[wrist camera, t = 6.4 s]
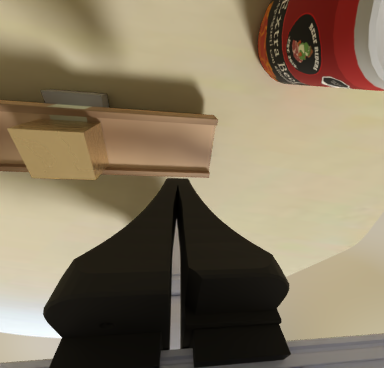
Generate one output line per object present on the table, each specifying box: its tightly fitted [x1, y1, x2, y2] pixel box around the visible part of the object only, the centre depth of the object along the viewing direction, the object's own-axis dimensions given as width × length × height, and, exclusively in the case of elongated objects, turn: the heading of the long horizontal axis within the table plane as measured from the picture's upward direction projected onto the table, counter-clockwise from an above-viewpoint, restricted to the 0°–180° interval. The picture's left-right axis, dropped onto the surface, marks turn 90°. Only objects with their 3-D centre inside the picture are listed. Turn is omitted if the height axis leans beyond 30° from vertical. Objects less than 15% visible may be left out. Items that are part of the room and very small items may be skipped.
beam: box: [0, 89, 218, 178], centre depth 16 cm, size 8×26×4 cm, turn 85°
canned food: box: [258, 0, 384, 91], centre depth 10 cm, size 8×8×11 cm
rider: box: [7, 119, 109, 180], centre depth 14 cm, size 4×5×3 cm
